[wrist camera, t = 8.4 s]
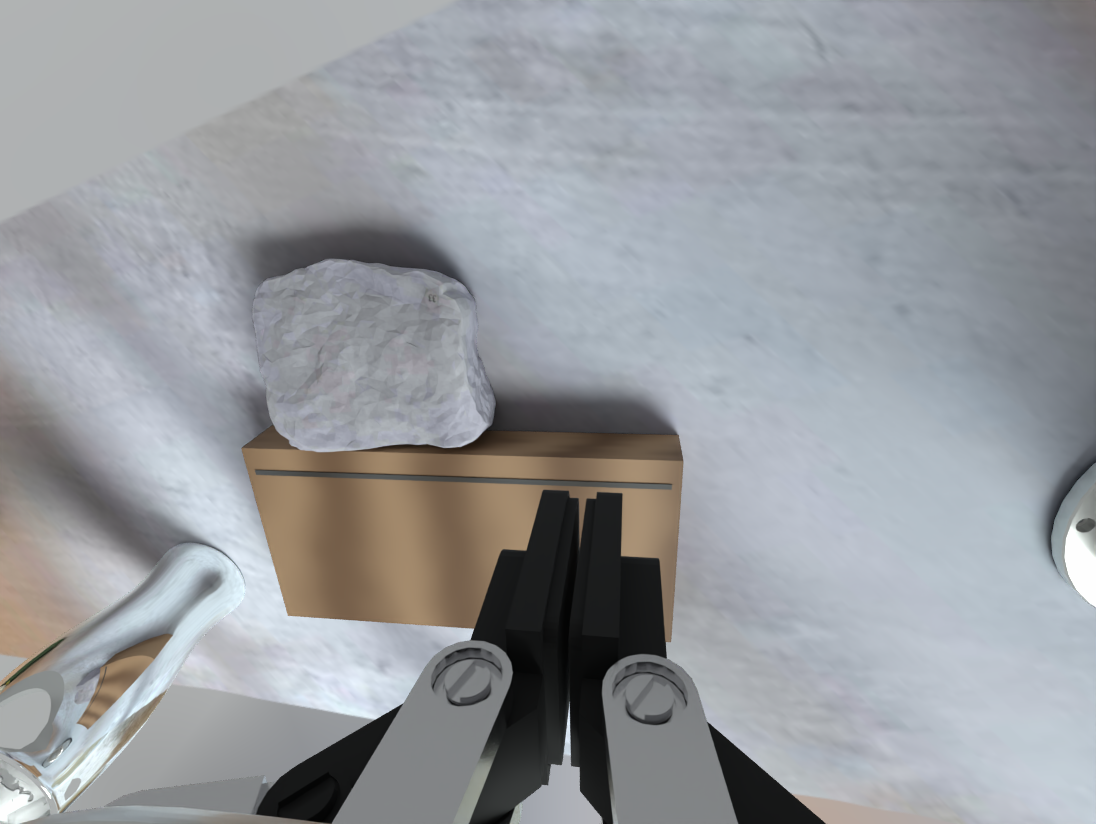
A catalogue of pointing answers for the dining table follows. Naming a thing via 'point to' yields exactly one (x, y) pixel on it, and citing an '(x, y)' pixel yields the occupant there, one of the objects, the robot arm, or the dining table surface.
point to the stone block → (371, 357)
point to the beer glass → (105, 681)
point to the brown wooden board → (446, 516)
